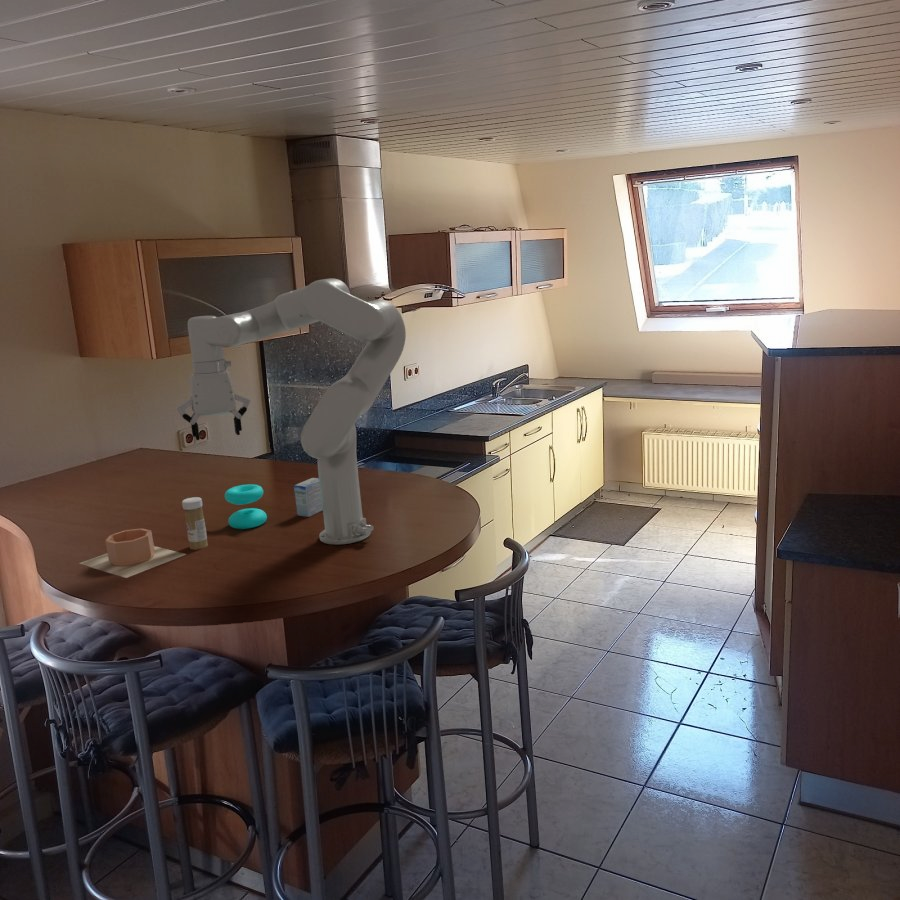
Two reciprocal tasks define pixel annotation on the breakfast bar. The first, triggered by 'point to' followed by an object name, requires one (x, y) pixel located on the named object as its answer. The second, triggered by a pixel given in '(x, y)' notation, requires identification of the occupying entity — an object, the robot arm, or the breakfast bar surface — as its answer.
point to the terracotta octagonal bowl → (130, 547)
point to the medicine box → (308, 497)
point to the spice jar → (195, 523)
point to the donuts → (245, 516)
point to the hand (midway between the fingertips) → (217, 436)
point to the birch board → (127, 571)
